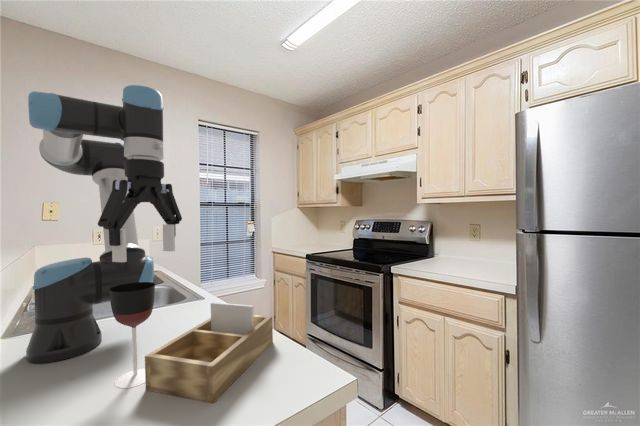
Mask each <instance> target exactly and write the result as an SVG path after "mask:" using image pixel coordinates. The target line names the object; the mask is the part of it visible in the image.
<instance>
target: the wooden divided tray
mask: <svg viewBox="0 0 640 426" xmlns="http://www.w3.org/2000/svg"><path fill="white" fill-rule="evenodd" d="M273 333H274V332H273V316H270V315H259V314H254V328H253V329H252V330H251V331H249V332H248V333H247V334H246V335H239V334H231V333H222V332H214V331H211V317H210V318H208V319H206V320H205V321H203V322H202V323H200V324H199V323H198V325H196V326H194V327H192V328H190V329H189V330H187V331H186V332H184V333H182V334H180V335H179V336H177V337H175V338H173V339H172V340H169V341H168V342H167V343H164V344H163V345H161V346H160V347H157V348H156V349H154V350H153V351H151V352H150V353H148V354H145V355H144V368H145V381H146V382H145V391H149V392H155V393H159V394H164V395H168V396H169V395H170V396H175V397H179V398H185V399H190V400H194V401H200V402H203V403H209V404H214V403H215V402H217V401H218V399H219V398H220V397H221V396H222V395H223V394H224V393H225V392H227V390H228V389H229V388H230V387H231V386H232V385H233V384H234V383H235V382H236V381H237V380H238V379H239V378H240V377H241V375H242V374H243V373H244V372H245V371H246V370H247V369H248V368H249V367H250V366H251V365H252V364H253V363H254V362H255V361H257V359H258V358H259V357H260V356H261V355H262V354H263V353H264V352H265V351H266V350H267V348H269V347H270V345H271V344H272V343H273V342H274V337H273V335H274V334H273Z"/></svg>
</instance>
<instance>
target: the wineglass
mask: <svg viewBox="0 0 640 426" xmlns="http://www.w3.org/2000/svg"><path fill="white" fill-rule="evenodd" d="M109 292H110V302H109V303H110V307H111V312H112V315H113V318H114V320H116V322H118V323H119V324H121V325H124V326H127V327H129V328H131V336H132V337H131V338H132V339H131V343H132V370H130V371H127V372H126V373H124V374H122V375H120V376H119V377H118V378H117V379H116V380H115V381H114V386H115V387H116V388H118V389H128V388H134V387H137V386H141V385H143V384H146V381H145V367H143V368H138V355H137V351H138V349H137V348H138V347H137V344H138V343H137V326H139V325H141V324H143V323H144V322H145V321H148V319H149V318H150V316H152V313H153V310H154V306H155V296H156V283H154V282H152V283H151V282H136V283H128V284H122V285H118V286H114V287H112V288H110V289H109Z"/></svg>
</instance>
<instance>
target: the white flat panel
mask: <svg viewBox="0 0 640 426" xmlns="http://www.w3.org/2000/svg"><path fill="white" fill-rule="evenodd" d="M254 315H255V313H254V305H249V304H240V303H239V304H238V303H236V304H235V303H228V302H227V303H224V302H213V301H212V302H210V318H211V331H214V332H222V333H231V334H239V335H246V334H247V333H248V332H249V331H251V330H252V329H253V328H254Z"/></svg>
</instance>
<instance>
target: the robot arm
mask: <svg viewBox="0 0 640 426" xmlns="http://www.w3.org/2000/svg"><path fill="white" fill-rule="evenodd" d="M27 99H28V100H27V101H28V103H27V106H28V107H27V108H28V120H29V121H28V123H29V124H30V127H31V128H34V129H38V130H42V137H43V138H42V139H41V140H40V142H39V146H38V150H39V153H40V156H41V158H42V159H43V160H44V161H45V162H46V163H47V164H48V165H50V166H51V167H54V168H56V169H57V170H60V171H61V172H65V173H68V174H71V175H77V176H78V175H79V176H91V179H92V181H93V182H94V183H95V185H98V188H99V189H98V190H99V199H100V209H101V210H100V212H101V215H100V216H99V218H98V219H99V220H98V221H97V226H99V227H101V228H102V229H103V233H102V234H103V241H104V243H103V244H104V251H103V252H102V253H101V254H100V255H99V261H95V262H94V261H93V260H92V258H90V257H80V258H73V259H66V260H62V261H57V262H54V263H49V264H46V265H44V266H42V267H39V268H37V270H36V271H35V272H34V275H33V286H32V290H34V291H33V293H34V294H33V295H34V328H33V331H32V333H31V336H30V339H29V342H28V345H27V347H26V350H25V353H26V354H25V355H26V361H27V362H29V363H33V364H42V363H43V364H45V363H46V364H47V363H53V362H58V361H64V360H66V359H71V358H73V357H77V356H80V355H83V354H85V353H87V352H89V351H92V350H93V349H94V348H97V347H98V346H99V345H100V344H101V343H102V341H103V340H102V337H103V336H102V331H101V329H100V326H99V325H98V324H99V323H98V322H97V320H96V318H95V315H94V306H95V305H98V304H104V303H111V302H110V292H109V289H110V288H112V287H114V286H118V285H122V284H128V283H136V282H151V283H154V282H153V281H154V273H155V272H154V271H155V266H154V260H153V257H152V256H150V255H146V251H145V249H144V248H143V247H141V246H140V245H139V240H138V233H137V226H136V217H135V212H134V210H135V209H136V207H137V206H139V204H141V203H150V204H151V205H153V207H154V208H155V210H156V211H157V213H158V214H159V216H160V217H161V218H162V220H163V222H164V223H165V224H164V223H163V224H162V245H163V247H162V248H163V249H162V250H163V252H176V246H175V245H176V244H175V240H176V236H177V235H176V233H177V232H176V225H179V224H180V223H181V221H182V220H183V218H182V217H183V216H182V214H181V211H180V208H179V206H178V204H177V201H176V198H175V196H174V195H175V194H174V193H173V192H174V191H173V185H172V183H162V179H164V178H165V163H164V162H163V160H164V108H165V107H164V105H163V104H164V103H163V96H162V94H161V93H160V92H159V91H158V90H157V89H155V88H153V87H149V86H145V85H140V84H130V85H126V86H125V87H123V89H122V98H121V101H122V106H121V105H115V104H109V103H104V102H98V101H93V100H86V99H83V98H77V97H73V96H72V97H71V96H66V95H61V94H57V93H54V92H42V91H35V90H34V91H31V92H29V94H28V97H27ZM85 135H86V136H92V137H94V136H95V137H99V138H101V137H102V138H109V139H117V140H118V139H119V140H121V141H123V143H121V142H109V141H100V140H95V139H94V140H93V139H83V137H84V136H85Z"/></svg>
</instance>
